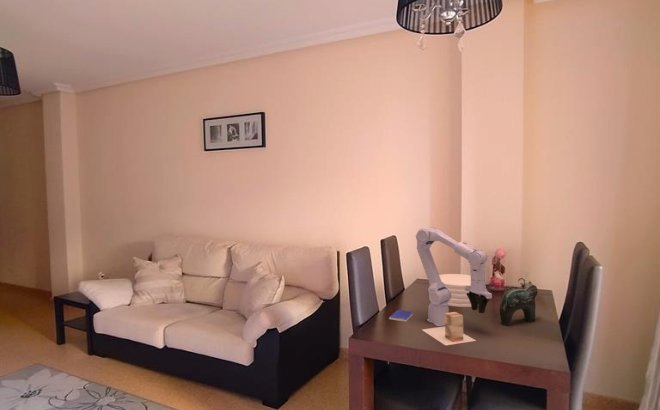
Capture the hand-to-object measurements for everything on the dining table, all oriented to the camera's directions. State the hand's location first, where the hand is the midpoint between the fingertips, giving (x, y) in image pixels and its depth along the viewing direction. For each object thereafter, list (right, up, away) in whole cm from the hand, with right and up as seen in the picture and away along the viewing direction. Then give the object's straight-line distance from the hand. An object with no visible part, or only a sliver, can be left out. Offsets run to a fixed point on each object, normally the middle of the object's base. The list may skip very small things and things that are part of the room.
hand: (478, 311), depth 159 cm
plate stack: (+9, -8, +51) cm, 52 cm away
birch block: (-12, -9, -7) cm, 17 cm away
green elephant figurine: (+24, -9, +12) cm, 28 cm away
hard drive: (-28, -10, +24) cm, 38 cm away
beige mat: (-14, -10, -2) cm, 17 cm away
